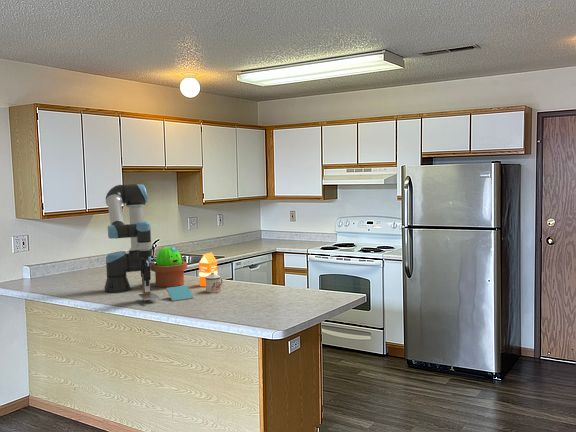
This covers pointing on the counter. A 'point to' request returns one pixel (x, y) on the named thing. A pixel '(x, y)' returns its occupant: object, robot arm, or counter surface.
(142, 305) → the rubber tool mat
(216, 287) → the teacup with lid
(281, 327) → the counter surface
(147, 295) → the steel trowel
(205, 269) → the orange juice
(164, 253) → the potted cactus
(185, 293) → the ceramic tile
